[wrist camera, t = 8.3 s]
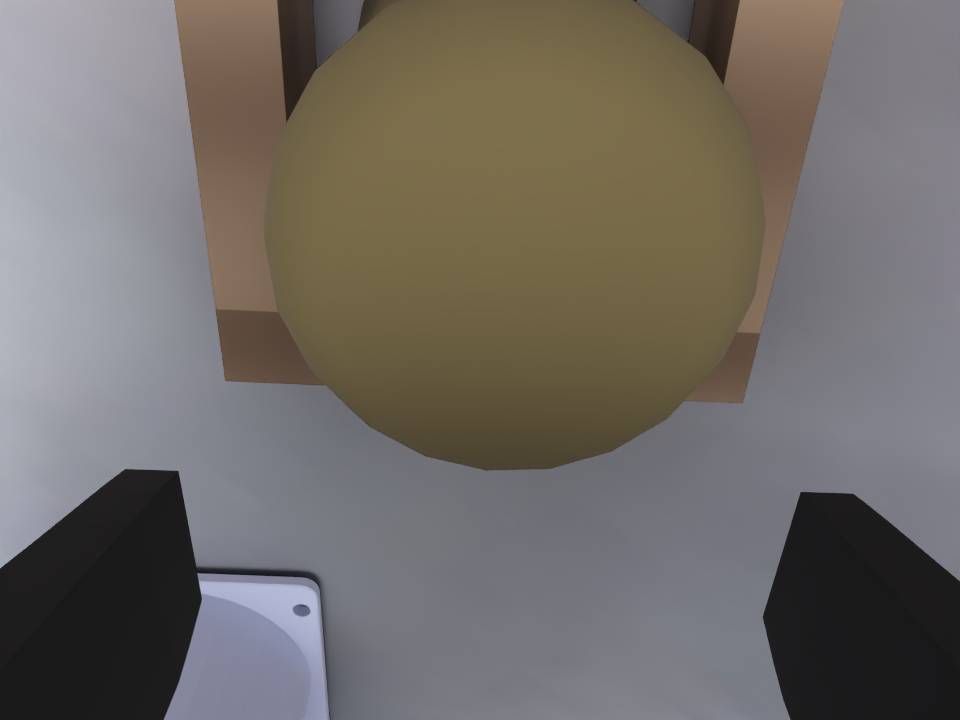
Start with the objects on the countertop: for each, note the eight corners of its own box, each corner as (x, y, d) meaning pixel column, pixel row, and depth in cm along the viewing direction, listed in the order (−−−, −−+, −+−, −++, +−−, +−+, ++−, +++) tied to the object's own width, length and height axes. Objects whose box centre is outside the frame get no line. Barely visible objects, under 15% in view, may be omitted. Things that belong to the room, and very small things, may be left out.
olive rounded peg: (421, -161, 15) (303, -246, 5) (703, -8, 16) (1021, 149, 6) (313, 140, 17) (107, 441, 8) (561, 250, 19) (636, 623, 9)
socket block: (709, 335, 20) (742, 403, 17) (259, 315, 20) (225, 380, 17) (827, -211, 14) (902, -232, 12) (201, -246, 14) (137, -275, 11)
